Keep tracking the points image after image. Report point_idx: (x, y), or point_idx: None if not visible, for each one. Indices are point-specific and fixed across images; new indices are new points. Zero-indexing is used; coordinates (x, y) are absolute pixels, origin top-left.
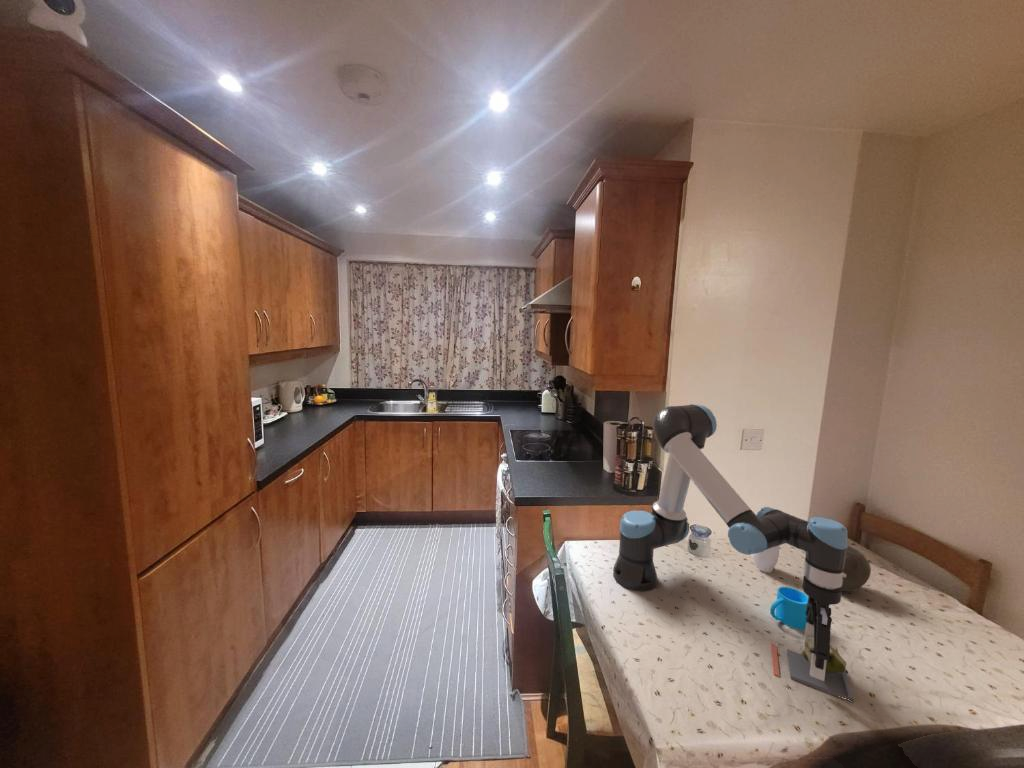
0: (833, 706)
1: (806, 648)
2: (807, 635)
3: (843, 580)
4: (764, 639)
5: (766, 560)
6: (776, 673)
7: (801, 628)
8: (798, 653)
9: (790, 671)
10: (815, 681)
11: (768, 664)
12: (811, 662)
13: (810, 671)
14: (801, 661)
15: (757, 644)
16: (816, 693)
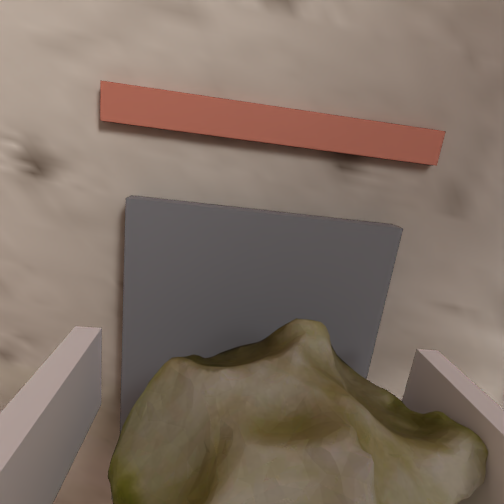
0: (31, 375)
1: (289, 393)
2: (491, 445)
3: None
4: (476, 92)
5: None
6: (116, 102)
7: None
8: (385, 290)
9: (168, 203)
10: (155, 334)
11: (202, 65)
12: (13, 411)
13: (64, 345)
14: (311, 292)
15: (402, 21)
16: (85, 315)
